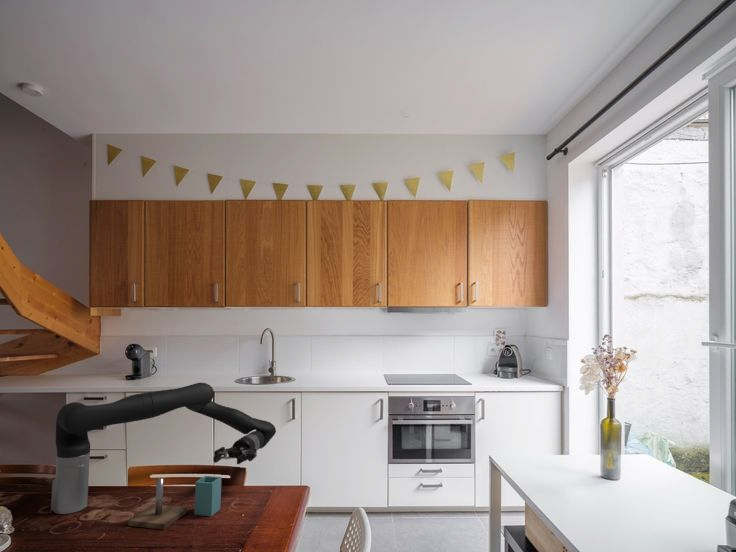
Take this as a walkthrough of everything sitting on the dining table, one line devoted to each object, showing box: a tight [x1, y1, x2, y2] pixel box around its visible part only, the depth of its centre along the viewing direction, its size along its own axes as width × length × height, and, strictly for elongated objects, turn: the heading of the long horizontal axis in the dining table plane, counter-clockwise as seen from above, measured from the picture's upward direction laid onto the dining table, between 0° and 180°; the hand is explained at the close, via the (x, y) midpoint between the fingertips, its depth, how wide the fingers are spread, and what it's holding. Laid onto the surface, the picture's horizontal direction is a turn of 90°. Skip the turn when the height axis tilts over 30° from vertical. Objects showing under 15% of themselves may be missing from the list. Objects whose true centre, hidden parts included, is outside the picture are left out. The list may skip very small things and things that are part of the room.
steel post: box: [155, 477, 164, 515], centre depth 148 cm, size 2×2×10 cm
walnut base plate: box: [127, 503, 188, 530], centre depth 147 cm, size 12×12×2 cm
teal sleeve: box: [193, 475, 222, 517], centre depth 153 cm, size 6×6×10 cm
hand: (226, 460), depth 165 cm, fingers open, 8 cm apart
